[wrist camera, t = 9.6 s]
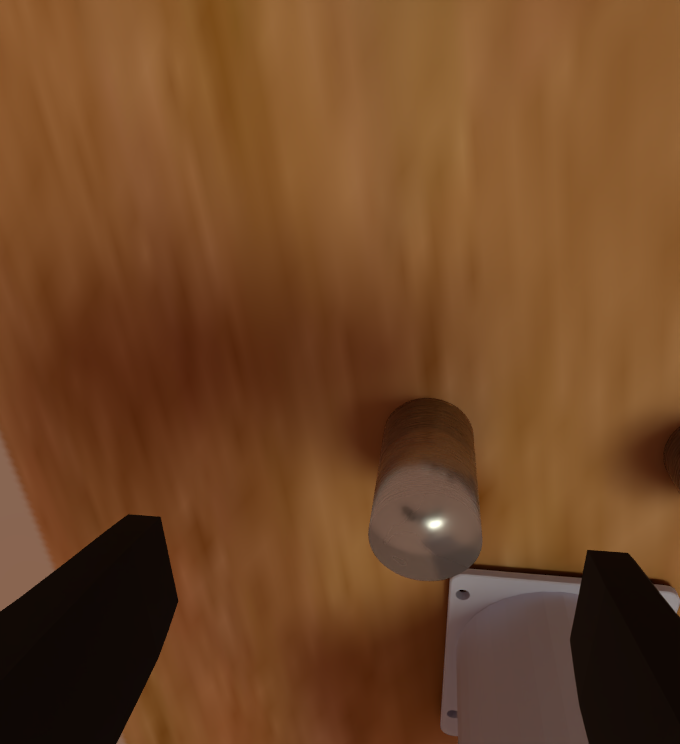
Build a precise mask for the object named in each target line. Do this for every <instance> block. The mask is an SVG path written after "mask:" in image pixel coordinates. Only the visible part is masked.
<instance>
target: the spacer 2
mask: <svg viewBox="0 0 680 744" xmlns="http://www.w3.org/2000/svg"><path fill="white" fill-rule="evenodd" d="M664 465H665V467H666V470H667V471H668V473H669V475H670V477H671V479H672V481H673V482H674V484H675V486H676V488H677V490H678V492H679V493H680V427H679V428H678V429H677V430H676V431H675V432H674V433H673V434H672V435H671V437H670V438H669V440H668V442H667V444H666V446H665V449H664Z"/></svg>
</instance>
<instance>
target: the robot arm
mask: <svg viewBox="0 0 680 744" xmlns="http://www.w3.org/2000/svg"><path fill="white" fill-rule="evenodd" d="M459 590H466V592H460V591H459ZM177 603H178V597H177V593H176V588H175V583H174V578H173V574H172V569H171V564H170V560H169V555H168V550H167V545H166V541H165V536H164V531H163V527H162V522H161V517H155V516H142V515H129V514H128V515H127V516H126V517H124V518H123V519H121V520H120V521H119V522H117V523H116V524H115V525H113V526H112V527H111V528H109V529H108V530H107V531H105V532H104V533H103V534H102V535H100V536H99V537H98V538H96V539H95V540H94V541H93V542H91V543H90V544H89V545H88V546H86V547H85V548H84V549H82V550H81V551H80V552H79V553H77V554H76V555H75V556H73V557H72V558H71V559H70V560H68V561H67V562H66V563H65V564H63V565H62V566H61V567H59V568H58V569H57V570H55V571H54V572H53V573H51V574H50V575H49V576H48V577H46V578H45V579H44V580H42V581H41V582H40V583H38V584H37V585H36V586H35V587H33V588H32V589H31V590H29V591H28V592H27V593H25V594H24V595H23V596H21V597H20V598H19V599H17V600H16V601H15V602H13V603H12V604H10V605H9V606H7V607H6V608H5V609H3V610H2V611H0V744H116V743H117V741H118V739H119V737H120V735H121V733H122V731H123V729H124V727H125V725H126V723H127V721H128V719H129V717H130V715H131V713H132V711H133V709H134V707H135V705H136V703H137V701H138V699H139V697H140V695H141V693H142V691H143V689H144V687H145V685H146V682H147V680H148V678H149V676H150V674H151V672H152V670H153V668H154V666H155V664H156V662H157V660H158V657H159V655H160V652H161V649H162V647H163V644H164V641H165V638H166V636H167V633H168V630H169V627H170V624H171V621H172V618H173V615H174V612H175V609H176V606H177ZM679 604H680V598H679V596H678V594H677V592H676V590H675V589H674V588H672V587H671V586H667V585H658V584H653V583H652V582H651V581H650V579H649V578H648V577H647V576H646V574H645V573H644V572H643V570H642V569H641V568H640V567H639V565H638V564H637V563H636V562H635V560H634V559H633V558H632V557H631V556H630V555H629V554H628V553H620V552H607V551H594V550H587V555H586V560H585V565H584V570H583V575H582V578H575V577H563V576H551V575H539V574H528V573H516V572H504V571H492V570H480V569H467V570H465V571H464V572H462V573H460V574H458V575H456V576H454V577H451V578H450V580H449V596H448V611H447V627H446V642H445V657H444V673H443V688H442V704H441V719H440V727H441V730H442V731H443V732H444V733H446V734H448V735H451V736H458V744H680V617H679V616H678V615H677V611H678V608H679Z"/></svg>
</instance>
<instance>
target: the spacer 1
mask: <svg viewBox="0 0 680 744" xmlns="http://www.w3.org/2000/svg"><path fill="white" fill-rule="evenodd" d="M368 536H369V542H370V546H371V548H372V551H373V552H374V554H375V556H376V557H377V558H378V559H379V561H380V562H381V563H382V564H383V565H385V566H386V567H387V568H389V569H390V570H392V571H393V572H395V573H397V574H399V575H401V576H404V577H407V578H410V579H415V580H421V581H438V580H444V579H448V578H451V577H454V576H456V575H458V574H460V573H462V572H464V571H465V570H467V569H468V568H469V567H470V566H471V565H472V564H473V563H474V562H475V561H476V559H477V557H478V556H479V553H480V551H481V547H482V531H481V519H480V507H479V495H478V483H477V471H476V460H475V448H474V436H473V429H472V426H471V424H470V422H469V420H468V418H467V417H466V415H465V414H464V413H463V412H462V411H461V410H459V409H458V408H457V407H455V406H454V405H452V404H450V403H448V402H445V401H442V400H438V399H431V398H423V399H417V400H413V401H410V402H407V403H405V404H403V405H401V406H400V407H399V408H397V409H396V410H395V411H394V412H393V413H392V414H391V415H390V417H389V419H388V420H387V423H386V425H385V429H384V435H383V442H382V448H381V455H380V461H379V467H378V474H377V480H376V487H375V493H374V499H373V506H372V512H371V518H370V525H369V534H368Z"/></svg>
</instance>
